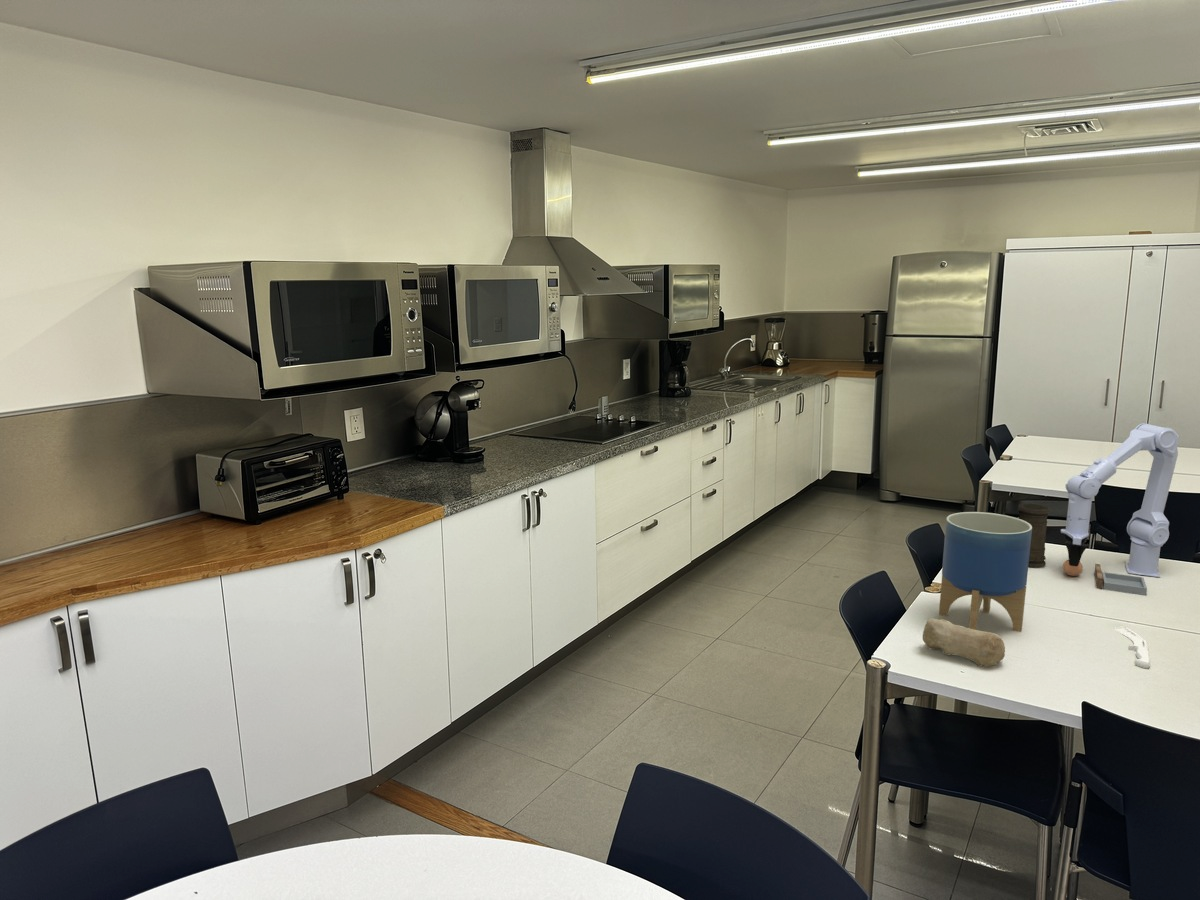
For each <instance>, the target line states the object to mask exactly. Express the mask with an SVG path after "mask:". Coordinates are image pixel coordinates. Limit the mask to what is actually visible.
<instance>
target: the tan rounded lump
mask: <svg viewBox="0 0 1200 900" xmlns="http://www.w3.org/2000/svg"><path fill="white" fill-rule="evenodd" d="M922 641H923V643H924V644H925V647H927V648H929V649H931V650H935V651H936V650H942V653H944V654H945V655H948V656H954V655H955V656H959V657H963V658H966V659H968V660H971V661H973V662H974V663H975V664H977V665H978V666H979V667H992V666H994V665H996V664H1000V663H1001V661H1003V660H1004V658H1005V653H1006V646H1005V642H1004V640H1003V638H1002V637H1000V636H999V635H998V634H997V633H994V632H989V631H982V630H978V629H976V630H975V629H970V628H969V627H965V626H963V625H960V624H954V623H952V622H951V621H949V620H946V619H943V618H941V619H938V618H930V619H928V620H926V624H925V625H924V628H923V632H922Z"/></svg>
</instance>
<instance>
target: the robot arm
mask: <svg viewBox="0 0 1200 900" xmlns="http://www.w3.org/2000/svg"><path fill="white" fill-rule="evenodd" d="M1179 440H1180V436H1179V435H1178V433H1177V432H1176V431H1175V430H1174V429H1173V428H1170V427H1165V426H1164V427H1163V426H1158V425H1154V424H1150V423H1146V422H1143V423H1140V424H1138V425H1137V426H1136V427H1134V429H1132V430H1130V432H1129V436H1128V438H1126V439H1125V440H1124V442H1122V443H1121V444H1120V445H1119V446H1118V447H1117V448H1116V449H1115V450H1114V451H1112V453H1111V454H1110V455H1108V457H1105V458H1104V457H1100V458H1097V459H1095V460H1093V463H1092V464H1091V465H1090V466H1088V467H1087V468H1086V469H1085V470H1083V471H1082V472H1080V473H1079V474H1076V475H1075V474H1074V475H1073V476H1072V477H1070V478H1069V479H1068V480H1067V483H1065V490H1066V491H1067V497H1068V505H1067V515H1066V522H1065V528H1061V529H1060V533H1061V534H1064V537H1065V541H1064V545H1065V546H1066V549H1067V554H1068V555H1067V556H1068V559H1069V565H1070V566H1078V565H1079V562H1081V558H1082V556H1083V554H1084V552H1085V551H1086V549H1087V548H1088V544H1086V543H1084V541H1085V540H1086V539H1087V538H1088V537H1089V536H1090V533H1089V530H1090V529H1089V528H1090V519H1091V511H1092V503H1093V497H1096V496H1097V494H1098V493H1099V492H1100V491H1099V489H1100V488H1101V487H1102V485H1103V484H1104V483H1105V482H1106V481H1108V480H1109V479H1110V478H1111V477H1113V476H1114V475H1115V474H1116V473H1117V468H1118V466H1120V465H1121V464H1123V463H1124V462H1126V461H1127V460H1129V459H1130V458H1131V457H1133V456H1134V455H1135V454H1137V453H1138V452H1140V451H1148V452H1149V454H1150V455H1151V457H1153V458H1152V463H1151V467H1150V471H1149V475H1148V480H1147V483H1146V488H1145V492H1144V496H1143V500H1142V504H1141V506H1140V507H1141V508H1140V509H1139V510H1136V511H1134V512H1133V513H1132V517H1131V518H1130V520H1129V521H1128V523H1127V526H1126V532H1127V534H1128V536H1129V537H1130V538H1129V539H1130V540H1131V543H1130V552H1129V559H1128V560H1129V561H1128V562H1125V564H1124V565H1125V569H1126V572H1127V574H1132V575H1140V576H1147V577H1154V578H1161V573H1160V572H1159V569H1158V568H1159V561H1160V554H1161V553H1160V552H1161V547H1164V546H1163V545H1164V544H1166V542H1167V541H1168V539H1169V536H1170V531H1169V526H1170V521H1169V520H1168V518H1167V517H1166V516H1165V514H1164V511H1165V508H1166V503H1167V500H1168V496H1169V491H1170V487H1171V484H1172V479H1173V475H1174V473H1175V472H1174V470H1175V468H1176V464H1177V459H1178V455H1179V450H1178V444H1179Z"/></svg>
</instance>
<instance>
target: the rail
mask: <svg viewBox="0 0 1200 900" xmlns="http://www.w3.org/2000/svg"><path fill="white" fill-rule="evenodd" d="M1102 572H1103V571H1102V566H1101V564H1100V563H1095V565H1094V574H1093V575H1094V579H1095V584H1096V585H1095V586H1096V589H1098V590H1102V589H1103V576H1102Z"/></svg>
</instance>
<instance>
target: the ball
mask: <svg viewBox="0 0 1200 900" xmlns="http://www.w3.org/2000/svg"><path fill="white" fill-rule="evenodd" d="M1083 567H1084V566H1083V563H1082V562H1081V561H1080V562H1079V565H1078V566H1070V565H1069V558H1068V559H1066V560H1065V561H1064V562H1063V565H1062V569H1063V571H1064V573H1065V574H1066V575H1069V576H1072V577H1076V576H1079V575H1080V574H1081V573H1082V572H1083V569H1084V568H1083Z"/></svg>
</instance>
